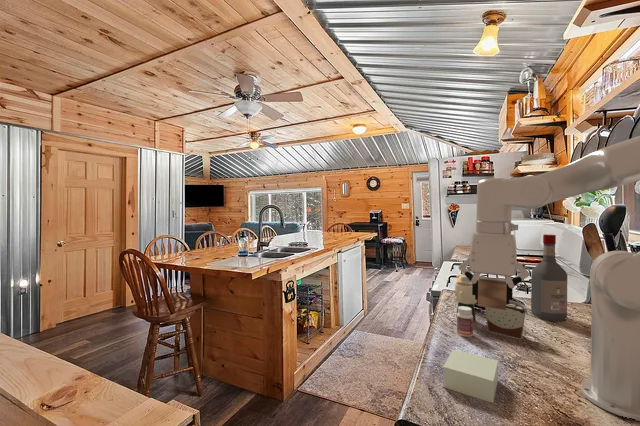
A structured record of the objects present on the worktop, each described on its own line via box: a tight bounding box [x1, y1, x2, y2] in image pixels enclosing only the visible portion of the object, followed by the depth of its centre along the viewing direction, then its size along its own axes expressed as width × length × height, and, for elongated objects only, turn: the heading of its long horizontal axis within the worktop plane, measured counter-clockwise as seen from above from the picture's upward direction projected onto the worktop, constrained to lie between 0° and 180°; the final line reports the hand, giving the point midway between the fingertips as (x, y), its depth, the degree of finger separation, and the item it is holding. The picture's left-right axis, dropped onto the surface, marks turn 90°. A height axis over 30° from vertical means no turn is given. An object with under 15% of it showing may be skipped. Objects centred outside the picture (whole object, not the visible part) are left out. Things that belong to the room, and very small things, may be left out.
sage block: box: [442, 349, 499, 404], centre depth 71 cm, size 10×10×5 cm
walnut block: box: [477, 276, 507, 310], centre depth 76 cm, size 6×6×6 cm
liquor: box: [530, 234, 569, 322], centre depth 111 cm, size 9×9×30 cm
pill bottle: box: [456, 306, 474, 338], centre depth 98 cm, size 5×5×8 cm
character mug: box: [454, 281, 478, 322], centre depth 109 cm, size 11×7×13 cm, turn 135°
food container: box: [484, 300, 529, 340], centre depth 99 cm, size 12×6×10 cm, turn 47°
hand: (491, 299), depth 76 cm, fingers closed on walnut block, 6 cm apart
